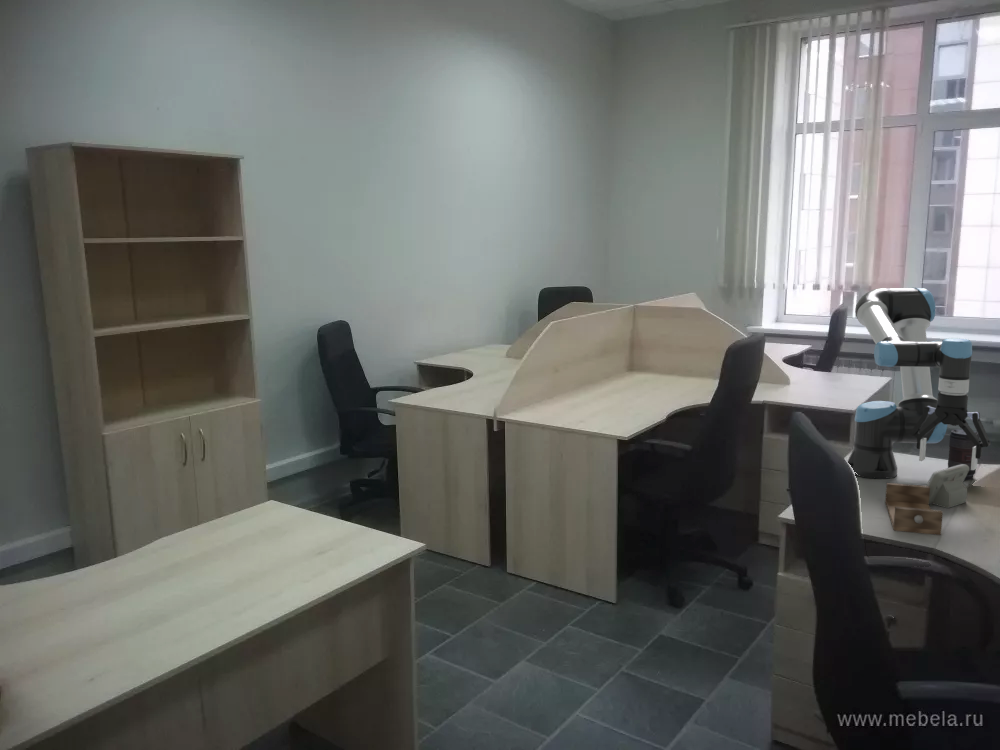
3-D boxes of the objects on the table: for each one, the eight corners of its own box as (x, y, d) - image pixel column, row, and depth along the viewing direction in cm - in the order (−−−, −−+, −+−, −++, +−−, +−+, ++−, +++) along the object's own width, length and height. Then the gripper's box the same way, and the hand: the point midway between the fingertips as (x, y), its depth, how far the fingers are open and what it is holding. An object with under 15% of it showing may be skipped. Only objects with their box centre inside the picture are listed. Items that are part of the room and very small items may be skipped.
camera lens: (975, 475, 247) (980, 430, 245) (975, 482, 241) (979, 436, 238) (947, 471, 252) (950, 427, 249) (945, 478, 245) (949, 433, 242)
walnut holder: (926, 505, 222) (928, 485, 221) (941, 536, 200) (943, 514, 199) (884, 501, 226) (886, 481, 225) (894, 531, 204) (896, 509, 203)
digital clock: (952, 493, 232) (955, 459, 230) (979, 503, 223) (982, 468, 221) (910, 500, 227) (912, 466, 225) (935, 510, 218) (938, 475, 216)
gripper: (901, 389, 225) (897, 459, 229) (999, 400, 207) (992, 475, 211) (911, 385, 230) (906, 453, 234) (1007, 396, 212) (1000, 470, 216)
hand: (947, 464), depth 223 cm, fingers open, 13 cm apart
